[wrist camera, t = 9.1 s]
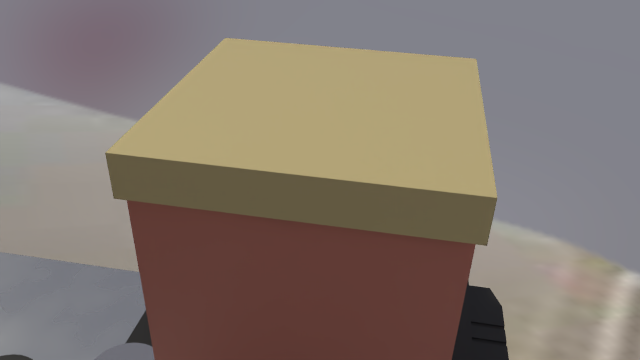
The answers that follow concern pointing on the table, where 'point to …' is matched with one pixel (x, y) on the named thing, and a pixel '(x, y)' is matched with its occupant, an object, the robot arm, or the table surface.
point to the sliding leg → (308, 203)
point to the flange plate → (65, 308)
